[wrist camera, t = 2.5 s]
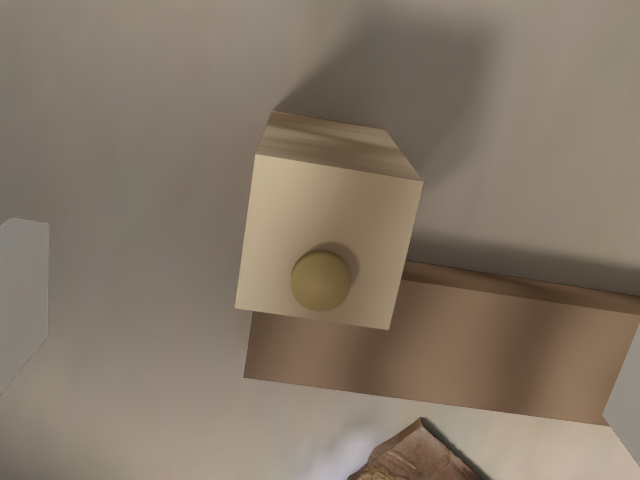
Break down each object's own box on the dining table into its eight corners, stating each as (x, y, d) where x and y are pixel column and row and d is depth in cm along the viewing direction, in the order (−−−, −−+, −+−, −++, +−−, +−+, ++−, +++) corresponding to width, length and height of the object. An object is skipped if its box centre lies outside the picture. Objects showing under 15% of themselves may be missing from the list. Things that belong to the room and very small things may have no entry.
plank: (248, 350, 29) (237, 409, 25) (264, 239, 27) (256, 281, 23) (696, 411, 31) (762, 477, 27) (743, 312, 29) (822, 364, 25)
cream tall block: (256, 219, 27) (232, 317, 18) (272, 110, 25) (253, 158, 16) (363, 235, 27) (391, 339, 18) (385, 129, 26) (428, 186, 17)
